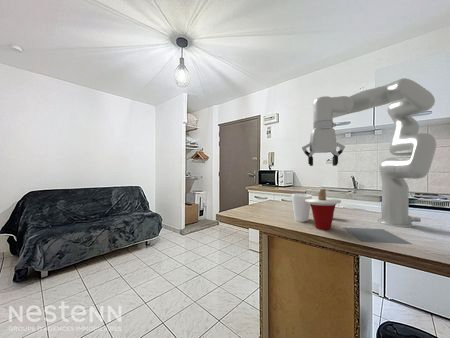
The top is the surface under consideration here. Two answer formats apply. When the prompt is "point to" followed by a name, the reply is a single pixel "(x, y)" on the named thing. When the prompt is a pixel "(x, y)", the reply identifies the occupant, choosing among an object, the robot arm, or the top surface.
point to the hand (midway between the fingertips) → (322, 165)
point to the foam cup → (301, 207)
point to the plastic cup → (323, 215)
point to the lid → (322, 199)
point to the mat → (375, 235)
